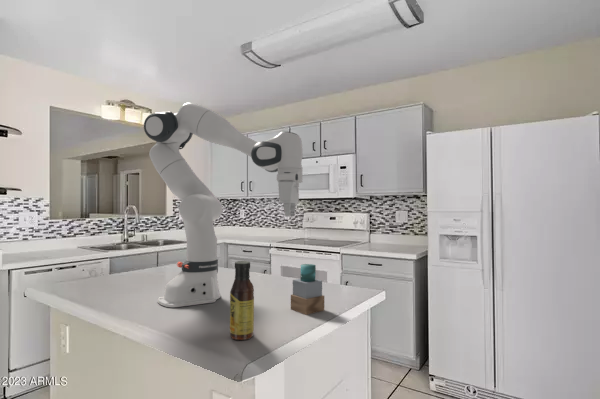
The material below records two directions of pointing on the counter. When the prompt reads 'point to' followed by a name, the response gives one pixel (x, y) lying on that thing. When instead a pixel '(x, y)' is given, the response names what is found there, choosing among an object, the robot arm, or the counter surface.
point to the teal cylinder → (308, 272)
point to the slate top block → (307, 288)
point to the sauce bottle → (242, 303)
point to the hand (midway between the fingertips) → (289, 216)
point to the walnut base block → (307, 304)
